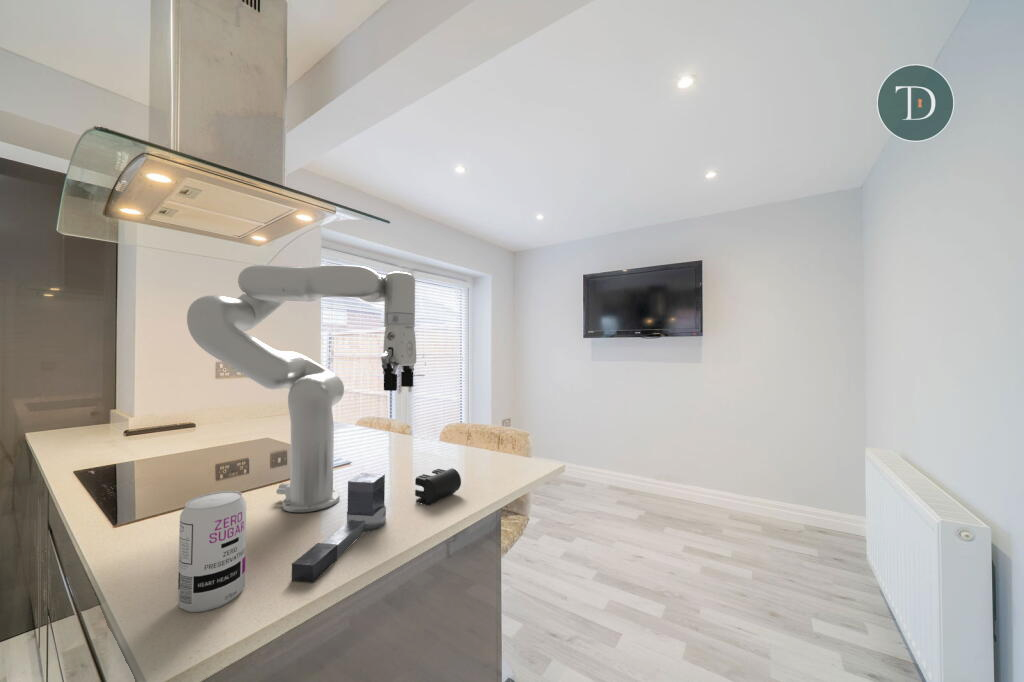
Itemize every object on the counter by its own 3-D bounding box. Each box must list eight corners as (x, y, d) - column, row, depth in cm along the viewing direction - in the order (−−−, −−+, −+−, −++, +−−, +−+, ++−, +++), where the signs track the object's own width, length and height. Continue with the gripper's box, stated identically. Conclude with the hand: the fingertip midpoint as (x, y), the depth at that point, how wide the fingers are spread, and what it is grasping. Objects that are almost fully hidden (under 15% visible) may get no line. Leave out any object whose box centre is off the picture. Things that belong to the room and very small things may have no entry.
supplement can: (202, 582, 64) (204, 490, 65) (255, 580, 65) (257, 489, 65) (163, 616, 56) (165, 510, 56) (224, 613, 57) (226, 509, 57)
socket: (347, 514, 84) (348, 481, 84) (360, 504, 89) (361, 473, 89) (372, 516, 83) (372, 482, 83) (384, 505, 89) (384, 474, 89)
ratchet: (279, 579, 65) (280, 534, 65) (358, 515, 91) (359, 482, 91) (324, 583, 64) (325, 537, 64) (391, 517, 90) (392, 483, 90)
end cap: (434, 509, 94) (435, 480, 95) (413, 502, 98) (414, 475, 98) (461, 496, 103) (461, 469, 103) (440, 490, 107) (441, 465, 107)
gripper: (398, 318, 92) (398, 392, 91) (426, 323, 109) (425, 385, 109) (368, 319, 93) (368, 391, 93) (400, 323, 110) (400, 385, 110)
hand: (399, 388), depth 101 cm, fingers open, 9 cm apart
